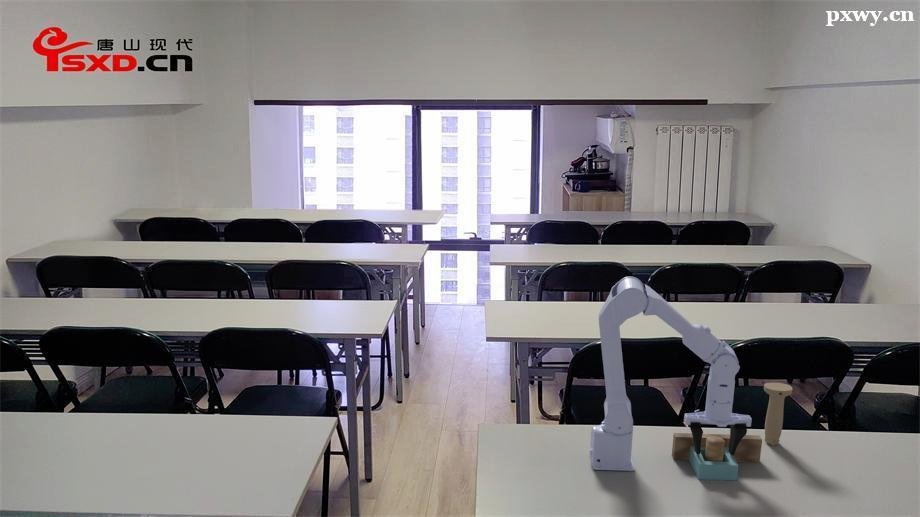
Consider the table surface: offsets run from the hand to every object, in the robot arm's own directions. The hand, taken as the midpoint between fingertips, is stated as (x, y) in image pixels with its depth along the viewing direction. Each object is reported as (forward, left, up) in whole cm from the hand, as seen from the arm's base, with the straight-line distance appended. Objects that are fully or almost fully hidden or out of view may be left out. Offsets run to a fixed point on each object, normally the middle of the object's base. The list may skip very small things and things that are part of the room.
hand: (714, 453), depth 185 cm
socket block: (0, 0, -4) cm, 4 cm away
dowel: (0, 0, -4) cm, 4 cm away
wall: (+2, +5, -4) cm, 7 cm away
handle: (+18, +14, -5) cm, 23 cm away
